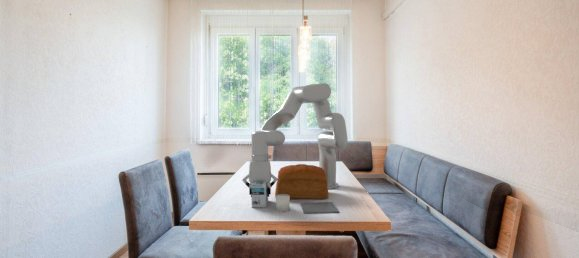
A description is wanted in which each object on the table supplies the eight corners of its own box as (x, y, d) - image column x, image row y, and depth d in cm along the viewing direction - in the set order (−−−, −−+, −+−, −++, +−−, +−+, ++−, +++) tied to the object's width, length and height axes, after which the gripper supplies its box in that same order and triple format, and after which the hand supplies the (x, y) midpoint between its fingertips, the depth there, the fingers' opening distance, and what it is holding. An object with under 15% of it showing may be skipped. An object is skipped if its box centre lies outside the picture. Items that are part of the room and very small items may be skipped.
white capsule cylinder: (275, 207, 122) (275, 194, 122) (289, 206, 123) (289, 193, 122) (276, 212, 116) (276, 198, 116) (290, 211, 117) (290, 198, 116)
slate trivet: (300, 204, 126) (300, 202, 126) (332, 203, 127) (332, 201, 127) (303, 213, 114) (303, 212, 114) (338, 212, 115) (338, 211, 115)
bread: (329, 200, 131) (330, 168, 130) (274, 200, 132) (274, 168, 131) (325, 191, 148) (326, 162, 147) (276, 190, 148) (276, 161, 147)
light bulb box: (266, 207, 121) (266, 184, 120) (251, 207, 121) (250, 183, 120) (268, 200, 132) (268, 178, 131) (254, 200, 132) (254, 178, 131)
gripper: (278, 156, 130) (278, 193, 131) (241, 156, 128) (241, 194, 129) (279, 159, 122) (279, 198, 123) (240, 159, 121) (240, 199, 122)
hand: (260, 195), depth 126 cm, fingers closed on light bulb box, 7 cm apart
